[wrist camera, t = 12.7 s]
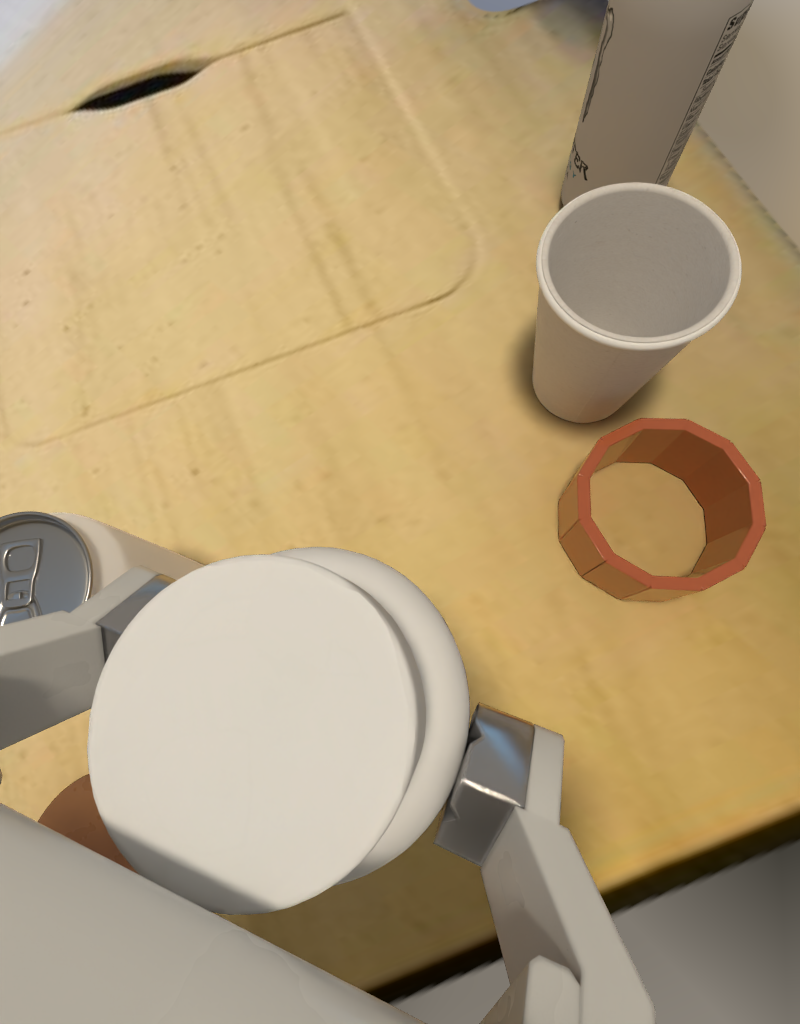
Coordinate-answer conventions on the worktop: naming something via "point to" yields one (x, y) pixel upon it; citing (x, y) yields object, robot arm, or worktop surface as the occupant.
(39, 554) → the can
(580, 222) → the dixie cup
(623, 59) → the energy drink can
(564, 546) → the holder cup
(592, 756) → the worktop surface
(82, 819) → the coaster
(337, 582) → the pill bottle
